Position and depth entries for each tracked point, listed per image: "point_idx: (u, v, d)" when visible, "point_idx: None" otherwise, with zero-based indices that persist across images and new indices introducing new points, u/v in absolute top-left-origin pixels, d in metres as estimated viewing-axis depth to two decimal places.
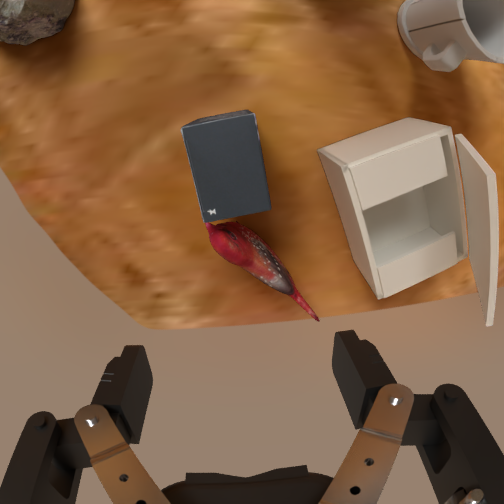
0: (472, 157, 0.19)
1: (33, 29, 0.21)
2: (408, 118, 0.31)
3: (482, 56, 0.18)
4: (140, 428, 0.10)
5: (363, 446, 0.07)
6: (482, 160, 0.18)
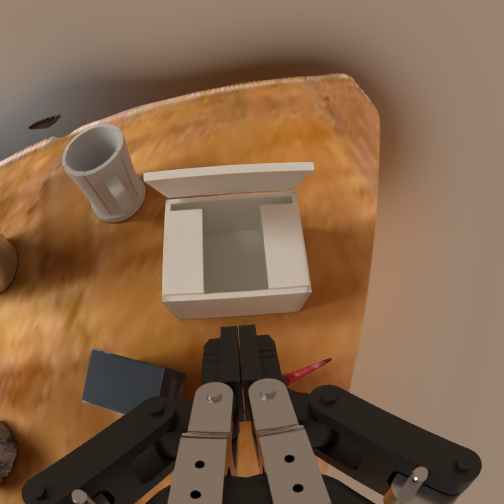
0: (155, 188, 0.29)
1: (1, 456, 0.27)
2: None
3: (114, 163, 0.35)
4: (243, 406, 0.11)
5: (273, 448, 0.07)
6: None
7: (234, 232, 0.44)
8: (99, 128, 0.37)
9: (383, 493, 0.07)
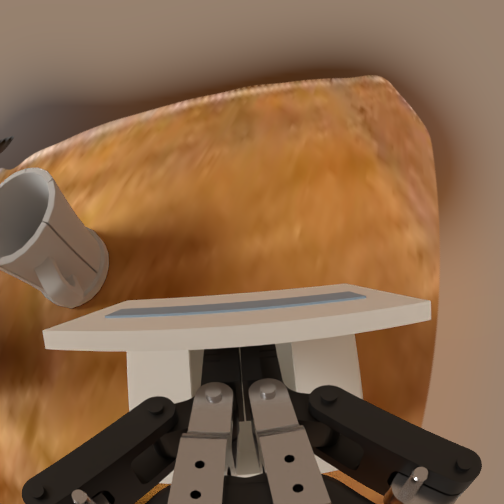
0: None
1: None
2: None
3: (41, 242, 0.20)
4: (243, 406, 0.11)
5: (273, 448, 0.07)
6: None
7: None
8: (26, 175, 0.22)
9: (383, 493, 0.07)
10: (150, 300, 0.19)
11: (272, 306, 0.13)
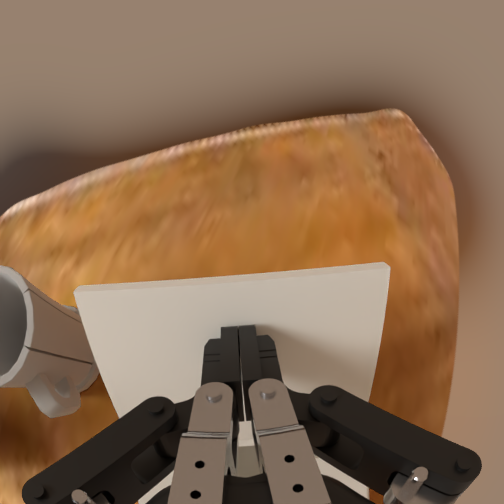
0: (97, 361, 0.14)
1: None
2: None
3: (27, 367, 0.16)
4: (243, 406, 0.11)
5: (273, 448, 0.07)
6: None
7: None
8: None
9: (383, 493, 0.07)
10: None
11: None
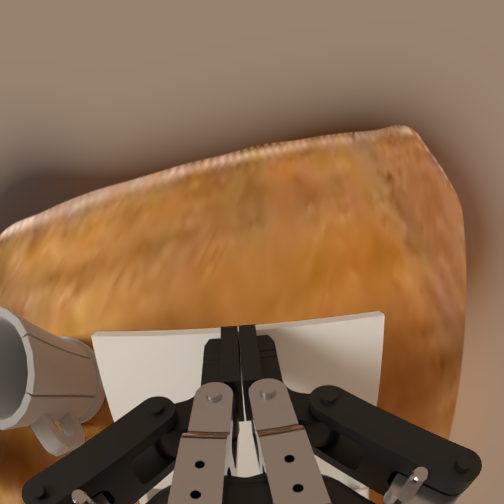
0: (110, 403, 0.14)
1: None
2: None
3: (31, 412, 0.15)
4: (243, 406, 0.11)
5: (273, 448, 0.07)
6: None
7: None
8: None
9: (383, 493, 0.07)
10: None
11: None
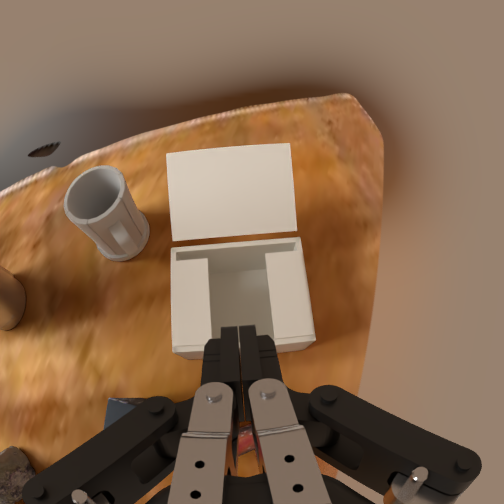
0: (169, 186, 0.35)
1: (19, 482, 0.28)
2: None
3: (117, 210, 0.36)
4: (243, 406, 0.11)
5: (273, 448, 0.07)
6: (168, 176, 0.36)
7: (239, 272, 0.44)
8: (99, 170, 0.38)
9: (383, 493, 0.07)
10: None
11: None
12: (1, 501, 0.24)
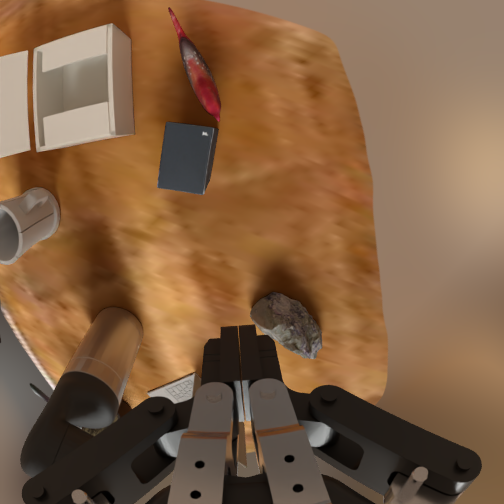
0: None
1: (286, 307, 0.50)
2: None
3: (9, 206, 0.33)
4: (243, 406, 0.11)
5: (273, 448, 0.07)
6: None
7: (63, 99, 0.39)
8: None
9: (383, 493, 0.07)
10: None
11: None
12: (313, 331, 0.50)
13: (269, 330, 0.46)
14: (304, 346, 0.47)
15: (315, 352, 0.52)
